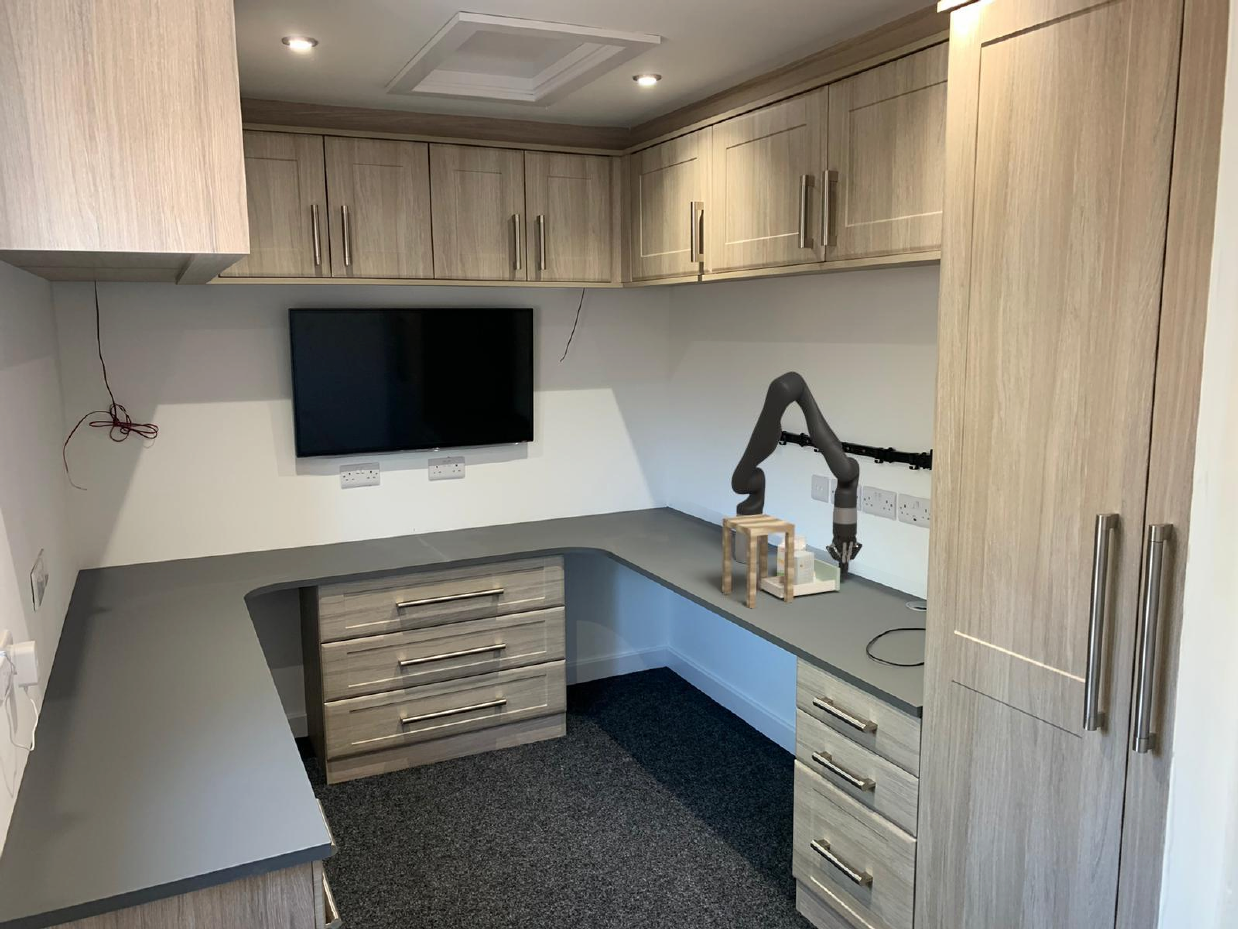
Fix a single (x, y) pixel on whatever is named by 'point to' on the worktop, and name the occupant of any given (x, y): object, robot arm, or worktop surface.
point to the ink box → (781, 551)
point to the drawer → (823, 581)
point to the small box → (803, 567)
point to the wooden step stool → (753, 528)
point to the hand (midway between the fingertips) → (843, 573)
